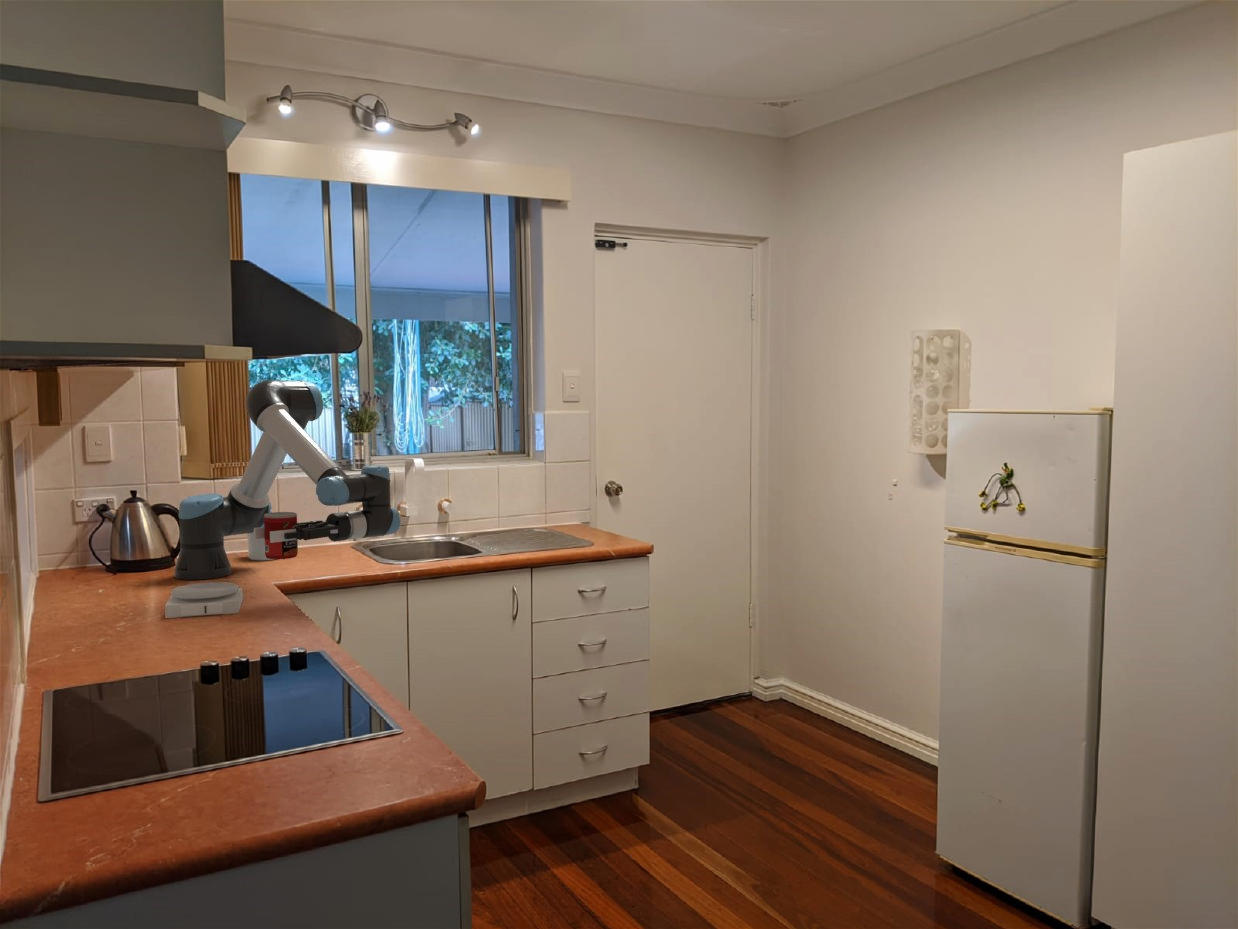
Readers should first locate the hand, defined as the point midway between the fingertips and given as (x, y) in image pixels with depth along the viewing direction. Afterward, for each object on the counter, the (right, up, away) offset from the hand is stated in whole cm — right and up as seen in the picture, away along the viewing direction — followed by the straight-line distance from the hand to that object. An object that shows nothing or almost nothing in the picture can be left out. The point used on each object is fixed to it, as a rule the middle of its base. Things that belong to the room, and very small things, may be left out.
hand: (262, 535), depth 230 cm
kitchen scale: (-13, -18, -2) cm, 22 cm away
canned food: (+3, -6, +4) cm, 8 cm away
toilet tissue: (-26, -13, +70) cm, 76 cm away
